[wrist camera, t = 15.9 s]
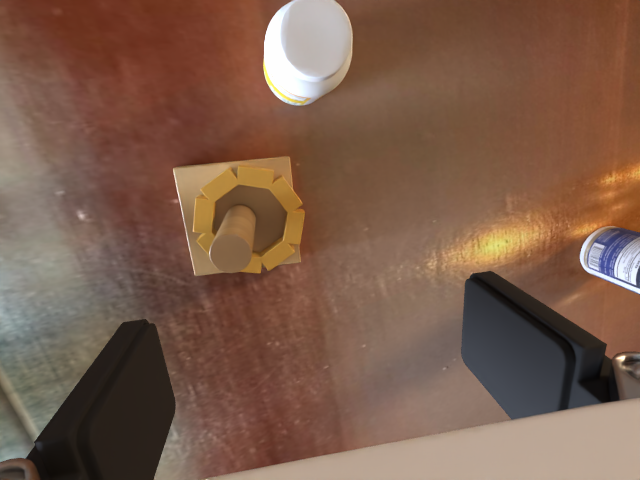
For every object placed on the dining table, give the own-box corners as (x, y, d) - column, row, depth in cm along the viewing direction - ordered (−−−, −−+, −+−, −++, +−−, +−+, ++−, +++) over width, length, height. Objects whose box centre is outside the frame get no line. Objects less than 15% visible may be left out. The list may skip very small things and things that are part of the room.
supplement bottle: (273, 112, 28) (277, 101, 19) (255, 38, 26) (251, -13, 17) (338, 98, 29) (372, 81, 19) (324, 24, 27) (355, -32, 18)
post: (177, 166, 28) (129, 183, 18) (288, 156, 29) (300, 167, 19) (198, 269, 31) (166, 334, 21) (299, 257, 32) (314, 312, 22)
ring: (201, 158, 27) (198, 159, 26) (308, 175, 28) (310, 177, 27) (193, 260, 29) (189, 266, 28) (293, 271, 31) (294, 277, 29)
